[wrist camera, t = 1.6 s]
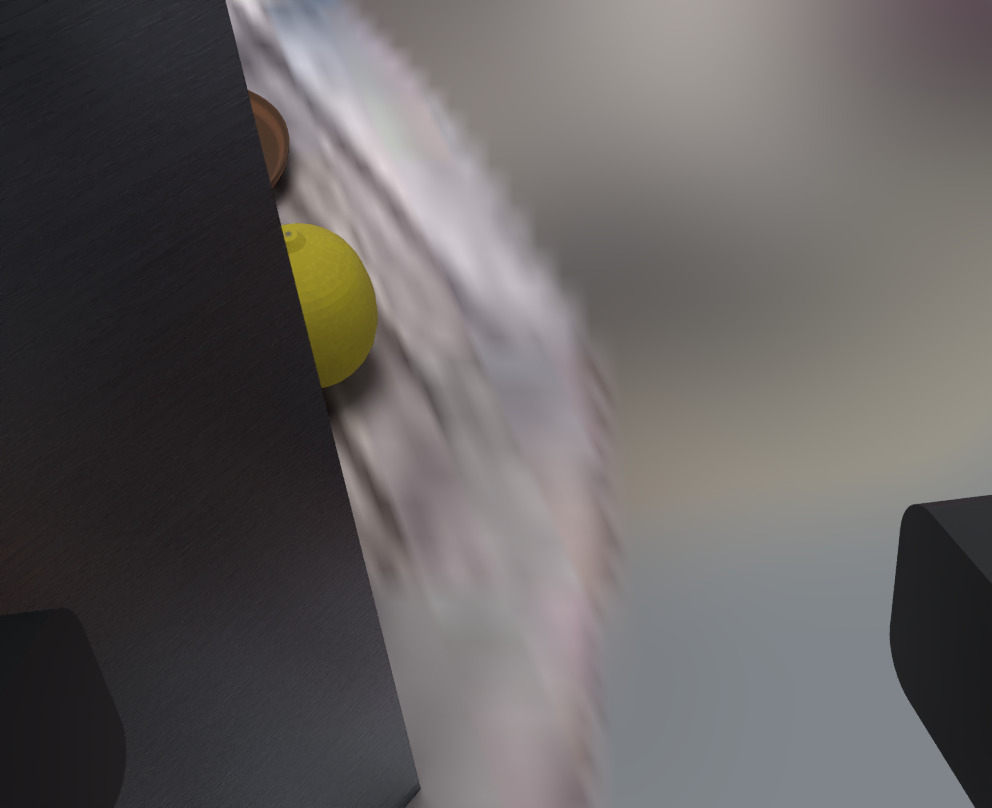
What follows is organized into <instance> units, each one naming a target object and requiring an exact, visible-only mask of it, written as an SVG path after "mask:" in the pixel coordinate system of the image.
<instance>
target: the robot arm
mask: <svg viewBox="0 0 992 808" xmlns="http://www.w3.org/2000/svg"><path fill="white" fill-rule="evenodd" d="M890 646H891V653H892V658H893V663H894V667H895V670H896V673H897V676H898V679H899V682H900V684H901V687H902V689H903V691H904V693H905V695H906V696H907V698H908V700H909V702H910V703H911V705H912V707H913V708H914V709H915V711H916V713H917V715H918V716H919V718H920V719H921V721H922V723H923V724H924V726H925V728H926V729H927V731H928V732H929V734H930V735H931V737H932V739H933V740H934V742H935V744H936V745H937V747H938V749H939V750H940V752H941V753H942V755H943V757H944V758H945V760H946V761H947V763H948V764H949V766H950V768H951V770H952V771H953V773H954V774H955V776H956V778H957V779H958V781H959V782H960V784H961V785H962V787H963V789H964V791H965V792H966V794H967V795H968V797H969V799H970V800H971V802H972V803H973V805H974V807H975V808H992V495H987V496H979V497H970V498H962V499H955V500H947V501H938V502H930V503H922V504H914V505H911V506H909V507H908V508H907V509H906V511H905V513H904V515H903V518H902V521H901V528H900V537H899V546H898V555H897V565H896V575H895V585H894V594H893V604H892V614H891V622H890ZM125 768H126V739H125V732H124V728H123V724H122V721H121V718H120V716H119V714H118V711H117V709H116V706H115V704H114V701H113V699H112V696H111V694H110V692H109V689H108V687H107V684H106V682H105V679H104V677H103V674H102V672H101V670H100V667H99V665H98V662H97V660H96V657H95V655H94V652H93V650H92V648H91V645H90V643H89V640H88V638H87V635H86V633H85V630H84V628H83V626H82V624H81V622H80V620H79V618H78V617H77V616H76V614H75V613H74V612H72V611H71V610H69V609H67V608H56V609H48V610H40V611H32V612H24V613H16V614H8V615H0V808H114V807H115V804H116V801H117V799H118V796H119V794H120V791H121V788H122V784H123V780H124V775H125Z"/></svg>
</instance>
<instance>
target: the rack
mask: <svg viewBox="0 0 992 808" xmlns="http://www.w3.org/2000/svg"><path fill="white" fill-rule="evenodd" d="M56 608H67V609H69V610H71V611H72V612H74V613H75V614H76V616H77V617H78V618H79V620H80V622H81V624H82V626H83V628H84V630H85V633H86V635H87V638H88V640H89V643H90V645H91V648H92V650H93V652H94V655H95V657H96V660H97V662H98V665H99V667H100V670H101V672H102V674H103V677H104V679H105V682H106V684H107V687H108V689H109V692H110V694H111V696H112V699H113V701H114V704H115V706H116V709H117V711H118V714H119V716H120V718H121V721H122V724H123V728H124V732H125V739H126V768H125V775H124V780H123V784H122V788H121V791H120V794H119V796H118V799H117V801H116V804H115V807H114V808H404V807H405V806H406V805H407V804H408V803H409V802H410V800H411V799H412V798H413V797H414V796H415V795H416V793H417V792H418V791H419V790H420V789H421V788H420V784H419V780H418V776H417V772H416V768H415V764H414V760H413V756H412V752H411V748H410V744H409V739H408V735H407V731H406V727H405V723H404V719H403V715H402V711H401V707H400V703H399V699H398V695H397V691H396V687H395V683H394V679H393V675H392V671H391V667H390V663H389V659H388V655H387V651H386V647H385V643H384V639H383V635H382V630H381V626H380V622H379V618H378V614H377V610H376V606H375V602H374V598H373V594H372V590H371V586H370V582H369V578H368V574H367V570H366V566H365V562H364V558H363V554H362V550H361V546H360V542H359V538H358V534H357V530H356V526H355V521H354V517H353V513H352V509H351V505H350V501H349V497H348V493H347V489H346V485H345V481H344V477H343V473H342V469H341V465H340V461H339V457H338V453H337V449H336V445H335V441H334V437H333V433H332V429H331V425H330V421H329V417H328V412H327V408H326V404H325V400H324V396H323V392H322V388H321V384H320V380H319V376H318V372H317V368H316V364H315V360H314V356H313V352H312V348H311V344H310V340H309V336H308V332H307V328H306V324H305V320H304V316H303V312H302V308H301V304H300V299H299V295H298V291H297V287H296V283H295V279H294V275H293V271H292V267H291V263H290V259H289V255H288V251H287V247H286V243H285V239H284V235H283V231H282V227H281V223H280V219H279V215H278V211H277V207H276V203H275V199H274V195H273V190H272V186H271V182H270V178H269V174H268V170H267V166H266V162H265V158H264V154H263V150H262V146H261V142H260V138H259V134H258V130H257V126H256V122H255V118H254V114H253V110H252V106H251V102H250V98H249V94H248V90H247V86H246V81H245V77H244V73H243V69H242V65H241V61H240V57H239V53H238V49H237V45H236V41H235V37H234V33H233V29H232V25H231V21H230V17H229V13H228V9H227V5H226V1H225V0H0V615H8V614H16V613H24V612H32V611H40V610H48V609H56Z"/></svg>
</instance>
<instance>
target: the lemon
mask: <svg viewBox="0 0 992 808" xmlns="http://www.w3.org/2000/svg"><path fill="white" fill-rule="evenodd" d="M281 227H282V231H283V235H284V239H285V243H286V247H287V251H288V255H289V259H290V263H291V267H292V271H293V275H294V279H295V283H296V287H297V291H298V295H299V299H300V304H301V308H302V312H303V316H304V320H305V324H306V328H307V332H308V336H309V340H310V344H311V348H312V352H313V356H314V360H315V364H316V368H317V372H318V376H319V380H320V384H321V388H325V387H329V386H331V385H334V384H337V383H339V382H341V381H342V380H344V379H345V378H347V377H349V376H350V375H352V374H353V373H354V372H355V371H356V370H357V369H358V368H359V367H360V366H361V365H362V363H363V362H364V361H365V359H366V357H367V355H368V353H369V352H370V350H371V348H372V346H373V342H374V338H375V333H376V329H377V321H378V314H377V305H376V298H375V292H374V288H373V285H372V282H371V280H370V277H369V275H368V273H367V271H366V269H365V267H364V265H363V263H362V261H361V260H360V258H359V256H358V255H357V253H356V252H355V251H354V250H353V249H352V247H351V246H350V245H349V244H348V243H347V242H346V241H345V240H344V239H342V238H341V237H340V236H338V235H336V234H335V233H333V232H331V231H329V230H327V229H325V228H322V227H319V226H315V225H311V224H302V223H295V224H286V225H282V226H281Z"/></svg>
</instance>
